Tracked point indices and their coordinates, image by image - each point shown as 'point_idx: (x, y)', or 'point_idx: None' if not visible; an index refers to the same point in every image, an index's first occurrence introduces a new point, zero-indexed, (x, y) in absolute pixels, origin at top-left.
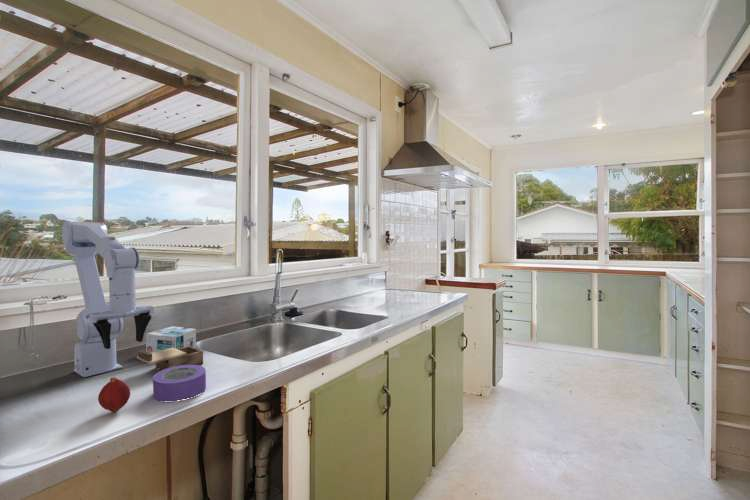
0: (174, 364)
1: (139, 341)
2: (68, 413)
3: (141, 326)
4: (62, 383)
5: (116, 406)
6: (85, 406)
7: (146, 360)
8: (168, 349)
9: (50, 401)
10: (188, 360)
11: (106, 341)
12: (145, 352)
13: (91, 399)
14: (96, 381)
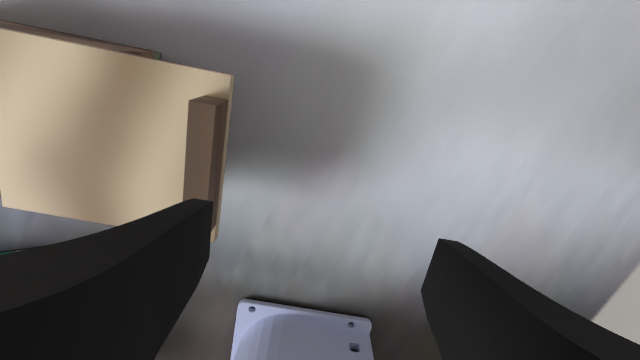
0: (106, 44)
1: (212, 207)
2: (633, 33)
3: (124, 266)
4: (430, 328)
5: None
6: (564, 40)
7: (225, 125)
8: (38, 197)
9: (558, 211)
10: (15, 26)
11: (508, 273)
12: (198, 170)
13: (504, 91)
14: (371, 252)
